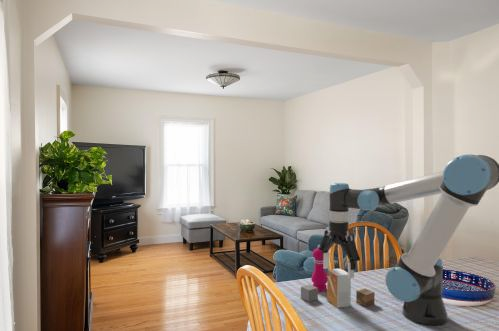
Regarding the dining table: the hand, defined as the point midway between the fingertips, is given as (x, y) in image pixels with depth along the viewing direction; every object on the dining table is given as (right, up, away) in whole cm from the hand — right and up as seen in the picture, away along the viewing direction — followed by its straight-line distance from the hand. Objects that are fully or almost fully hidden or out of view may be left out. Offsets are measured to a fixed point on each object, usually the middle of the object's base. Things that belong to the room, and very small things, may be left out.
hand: (338, 272), depth 148 cm
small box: (0, -13, 0) cm, 13 cm away
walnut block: (+11, -13, 0) cm, 17 cm away
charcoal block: (-11, -13, +5) cm, 17 cm away
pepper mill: (-4, -12, +16) cm, 21 cm away
